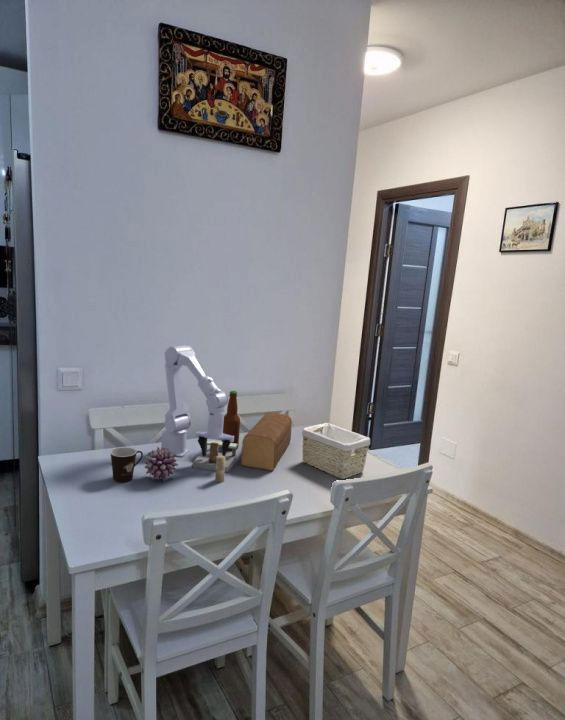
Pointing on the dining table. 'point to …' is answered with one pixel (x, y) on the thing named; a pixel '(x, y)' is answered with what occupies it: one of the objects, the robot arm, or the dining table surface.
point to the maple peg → (220, 468)
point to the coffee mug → (123, 463)
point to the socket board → (230, 458)
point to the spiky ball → (161, 463)
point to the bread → (266, 442)
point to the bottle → (232, 419)
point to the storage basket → (335, 450)
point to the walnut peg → (213, 452)
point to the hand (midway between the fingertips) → (213, 457)
